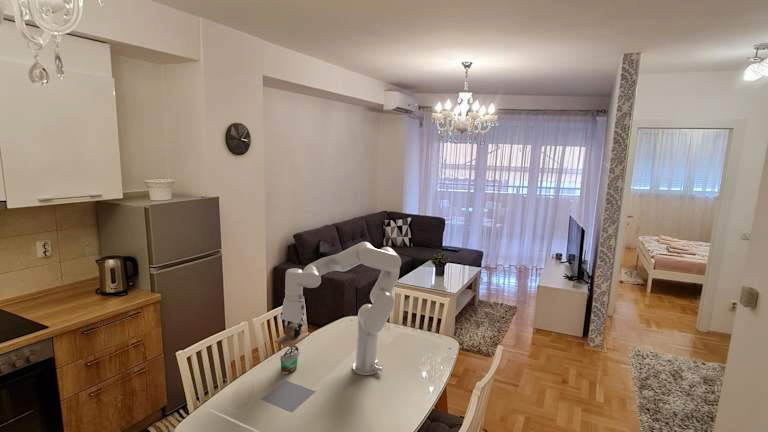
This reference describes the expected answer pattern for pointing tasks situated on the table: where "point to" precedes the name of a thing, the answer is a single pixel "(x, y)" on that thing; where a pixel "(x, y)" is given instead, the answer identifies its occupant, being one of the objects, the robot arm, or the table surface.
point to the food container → (289, 360)
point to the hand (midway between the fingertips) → (292, 334)
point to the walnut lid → (291, 336)
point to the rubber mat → (288, 396)
